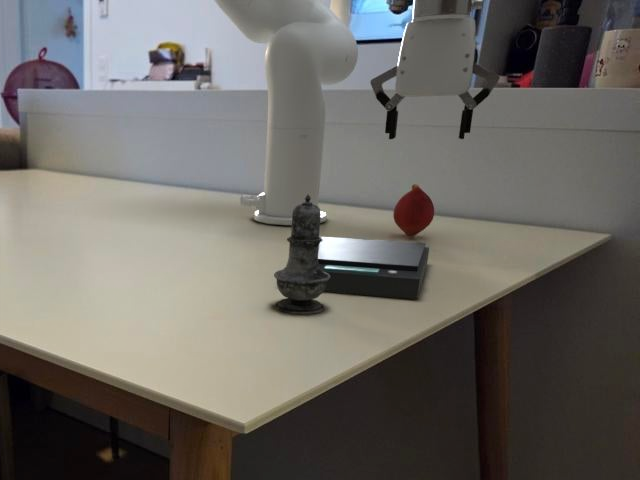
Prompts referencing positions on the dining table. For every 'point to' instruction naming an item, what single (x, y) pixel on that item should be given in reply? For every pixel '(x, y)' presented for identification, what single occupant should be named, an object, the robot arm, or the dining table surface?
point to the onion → (414, 211)
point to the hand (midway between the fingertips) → (426, 138)
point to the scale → (373, 266)
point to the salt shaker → (302, 264)
